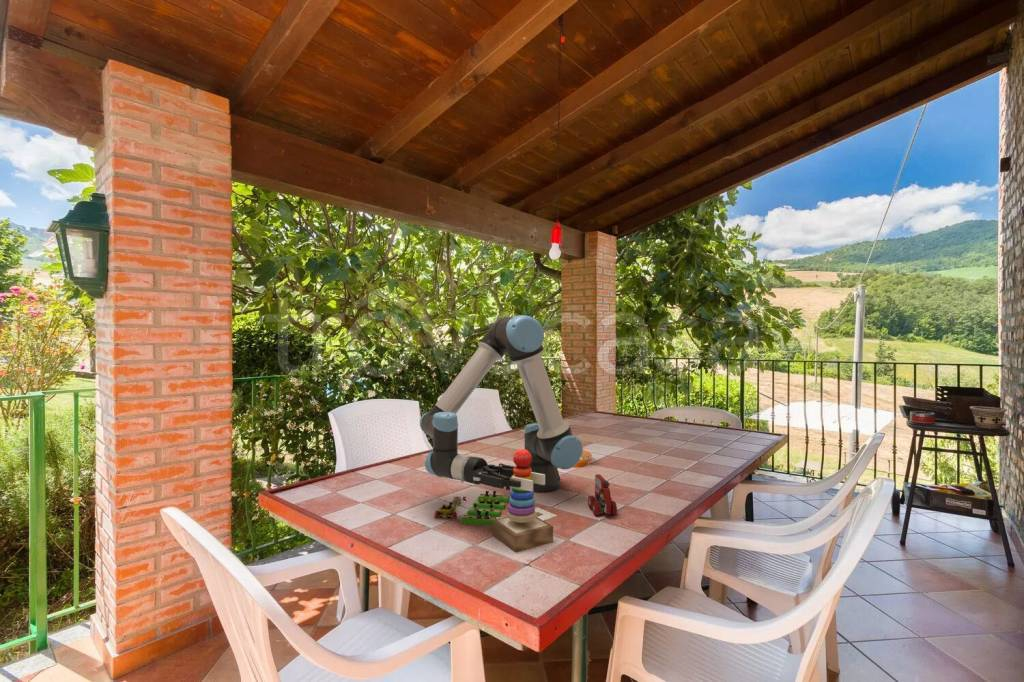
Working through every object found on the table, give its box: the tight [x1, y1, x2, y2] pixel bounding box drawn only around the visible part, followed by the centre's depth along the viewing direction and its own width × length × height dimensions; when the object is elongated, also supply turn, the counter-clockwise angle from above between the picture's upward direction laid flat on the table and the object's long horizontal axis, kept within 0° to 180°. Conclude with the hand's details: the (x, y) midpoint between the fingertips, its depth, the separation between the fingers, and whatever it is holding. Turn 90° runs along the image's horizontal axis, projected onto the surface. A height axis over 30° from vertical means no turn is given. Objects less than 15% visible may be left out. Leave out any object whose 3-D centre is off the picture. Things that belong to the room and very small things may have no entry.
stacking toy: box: [506, 448, 536, 523], centre depth 126 cm, size 8×8×19 cm
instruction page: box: [535, 507, 558, 522], centre depth 142 cm, size 12×9×1 cm
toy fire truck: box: [587, 473, 618, 516], centre depth 146 cm, size 7×12×10 cm, turn 5°
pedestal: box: [491, 516, 554, 553], centre depth 126 cm, size 12×12×4 cm
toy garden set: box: [433, 490, 510, 527], centre depth 148 cm, size 23×19×5 cm
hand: (538, 482), depth 124 cm, fingers closed on stacking toy, 6 cm apart
